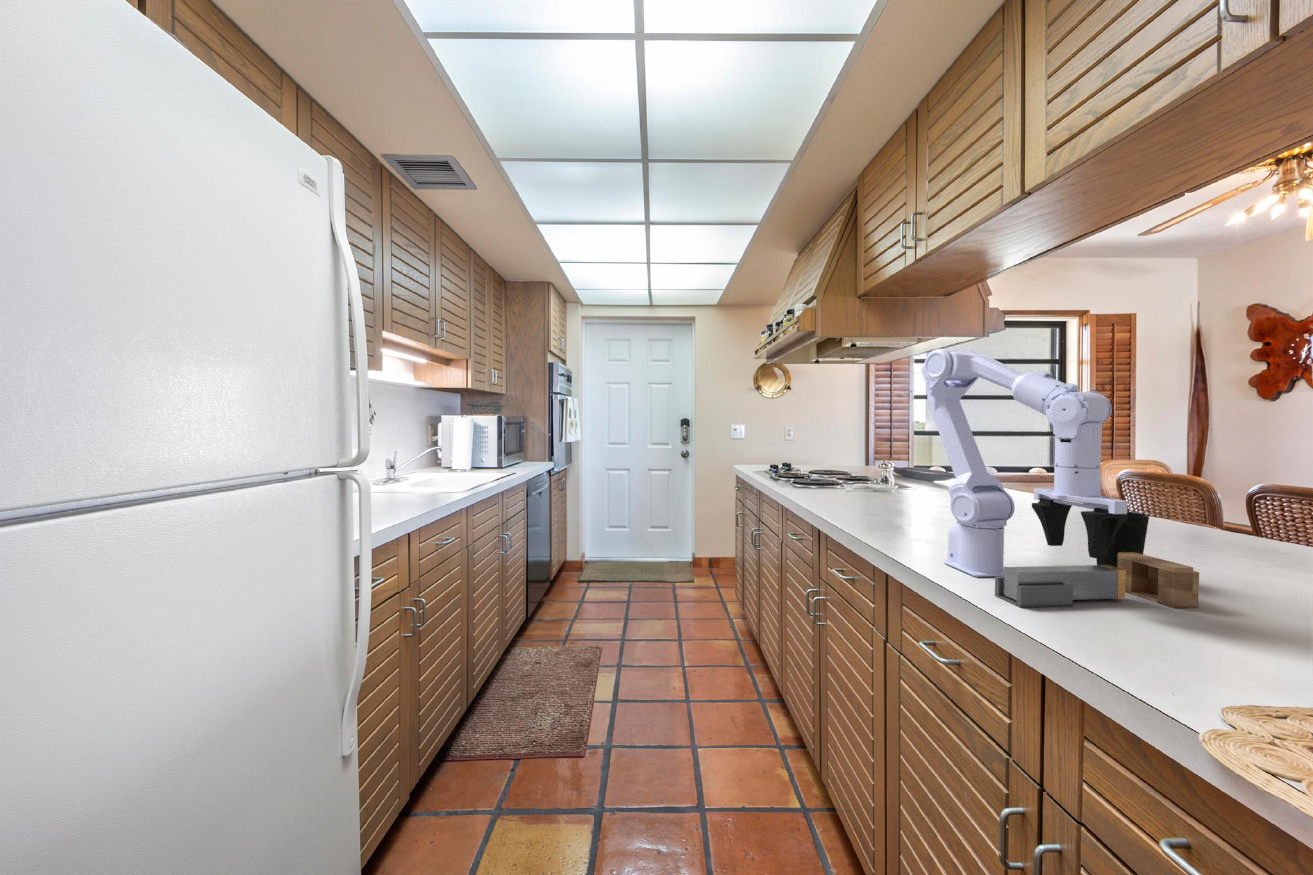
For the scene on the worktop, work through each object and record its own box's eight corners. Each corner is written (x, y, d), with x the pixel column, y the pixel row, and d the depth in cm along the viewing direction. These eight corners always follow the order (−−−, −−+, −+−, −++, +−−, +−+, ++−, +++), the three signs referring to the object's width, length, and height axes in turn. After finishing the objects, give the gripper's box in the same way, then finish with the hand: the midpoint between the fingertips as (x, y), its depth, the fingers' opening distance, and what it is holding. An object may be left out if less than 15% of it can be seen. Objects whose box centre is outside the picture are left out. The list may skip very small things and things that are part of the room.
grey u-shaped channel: (994, 595, 83) (995, 576, 83) (1043, 594, 84) (1043, 575, 83) (1020, 607, 78) (1021, 587, 78) (1072, 606, 78) (1072, 585, 78)
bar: (1002, 594, 82) (1003, 566, 82) (1106, 592, 83) (1107, 564, 83) (1017, 601, 79) (1018, 572, 79) (1124, 598, 80) (1125, 570, 80)
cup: (1158, 586, 88) (1160, 518, 87) (1107, 583, 89) (1109, 516, 89) (1127, 573, 95) (1128, 510, 95) (1080, 570, 97) (1082, 509, 96)
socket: (1116, 588, 86) (1117, 552, 86) (1138, 588, 87) (1139, 552, 87) (1174, 608, 77) (1175, 567, 77) (1198, 607, 78) (1199, 567, 78)
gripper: (1017, 463, 87) (1016, 541, 88) (1096, 471, 73) (1094, 564, 73) (1056, 463, 88) (1054, 540, 88) (1141, 470, 73) (1139, 563, 74)
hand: (1075, 551), depth 81 cm, fingers open, 7 cm apart
